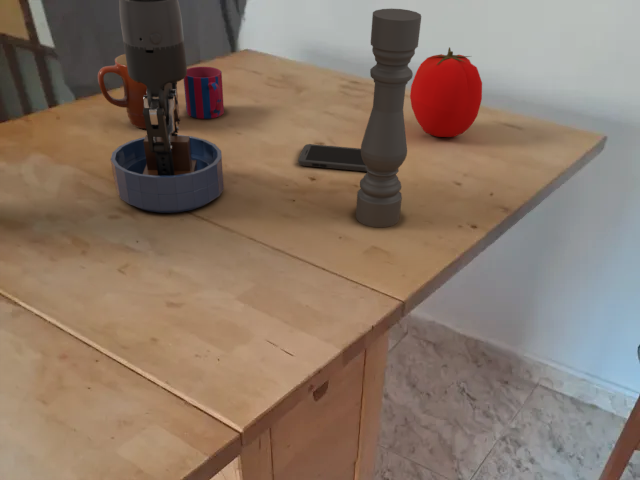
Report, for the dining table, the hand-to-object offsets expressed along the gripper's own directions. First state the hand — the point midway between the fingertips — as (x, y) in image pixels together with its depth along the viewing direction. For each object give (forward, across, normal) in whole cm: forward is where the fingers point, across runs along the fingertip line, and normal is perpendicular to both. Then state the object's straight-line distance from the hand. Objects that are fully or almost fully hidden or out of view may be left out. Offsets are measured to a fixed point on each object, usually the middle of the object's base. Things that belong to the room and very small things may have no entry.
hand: (169, 168), depth 98 cm
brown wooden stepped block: (+2, 0, 0) cm, 2 cm away
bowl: (+3, 0, 0) cm, 3 cm away
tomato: (+4, -26, +44) cm, 51 cm away
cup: (+4, -32, +2) cm, 32 cm away
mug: (+4, -27, -9) cm, 29 cm away
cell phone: (+4, -13, +26) cm, 29 cm away
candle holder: (+4, +7, +30) cm, 31 cm away
